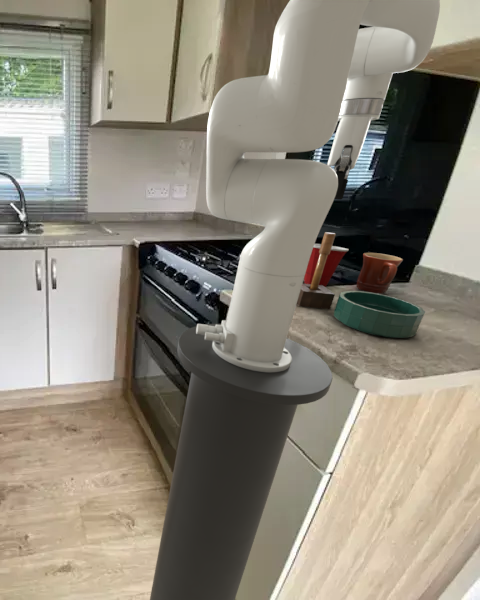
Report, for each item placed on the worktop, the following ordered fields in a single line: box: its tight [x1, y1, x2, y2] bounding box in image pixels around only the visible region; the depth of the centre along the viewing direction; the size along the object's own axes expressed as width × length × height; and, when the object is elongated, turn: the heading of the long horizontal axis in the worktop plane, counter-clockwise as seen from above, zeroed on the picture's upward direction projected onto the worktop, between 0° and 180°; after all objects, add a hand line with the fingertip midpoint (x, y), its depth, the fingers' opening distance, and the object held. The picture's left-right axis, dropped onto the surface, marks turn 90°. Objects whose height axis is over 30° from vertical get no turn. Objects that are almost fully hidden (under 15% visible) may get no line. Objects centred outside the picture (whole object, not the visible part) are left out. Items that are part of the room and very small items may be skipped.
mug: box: [356, 252, 404, 295], centre depth 99 cm, size 12×9×10 cm
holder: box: [296, 283, 336, 310], centre depth 90 cm, size 7×7×4 cm
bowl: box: [333, 290, 426, 339], centre depth 78 cm, size 15×15×6 cm
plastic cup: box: [303, 243, 349, 288], centre depth 105 cm, size 11×11×12 cm
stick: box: [310, 231, 337, 290], centre depth 88 cm, size 2×2×18 cm
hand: (333, 197), depth 79 cm, fingers open, 9 cm apart
